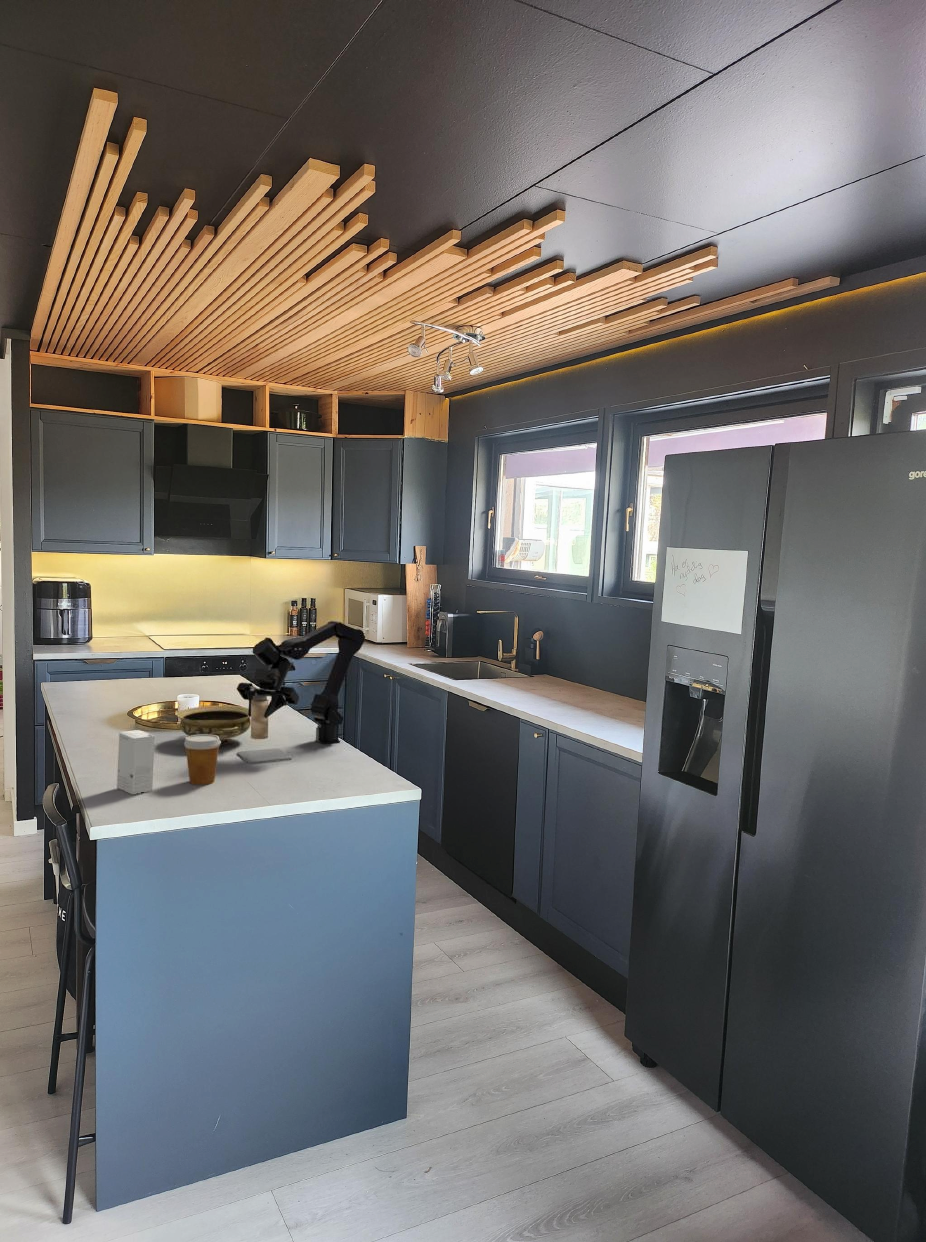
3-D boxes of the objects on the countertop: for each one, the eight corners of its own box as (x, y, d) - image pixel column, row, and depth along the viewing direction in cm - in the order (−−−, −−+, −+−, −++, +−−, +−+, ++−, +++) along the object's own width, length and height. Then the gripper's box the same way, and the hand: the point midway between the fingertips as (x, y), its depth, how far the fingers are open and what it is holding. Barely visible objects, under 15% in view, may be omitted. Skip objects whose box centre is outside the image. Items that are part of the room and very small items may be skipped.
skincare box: (116, 788, 216) (116, 731, 215) (138, 784, 221) (138, 728, 220) (132, 795, 211) (133, 737, 210) (155, 790, 216) (155, 734, 214)
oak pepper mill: (266, 734, 253) (267, 694, 252) (269, 738, 249) (269, 697, 248) (249, 735, 252) (250, 694, 250) (252, 739, 247) (252, 698, 246)
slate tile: (278, 750, 263) (278, 748, 263) (291, 759, 252) (291, 757, 252) (237, 753, 256) (237, 751, 256) (248, 763, 245) (248, 761, 245)
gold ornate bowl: (163, 737, 274) (163, 707, 273) (234, 730, 288) (234, 701, 288) (194, 757, 250) (194, 724, 249) (269, 748, 264) (270, 717, 264)
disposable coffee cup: (227, 779, 228) (228, 736, 227) (206, 788, 219) (206, 743, 218) (198, 775, 231) (198, 732, 230) (175, 783, 222) (176, 739, 221)
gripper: (240, 656, 255) (218, 698, 245) (294, 660, 249) (275, 703, 240) (253, 678, 263) (233, 719, 253) (307, 682, 257) (288, 725, 248)
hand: (257, 716), depth 248 cm, fingers closed on oak pepper mill, 5 cm apart
